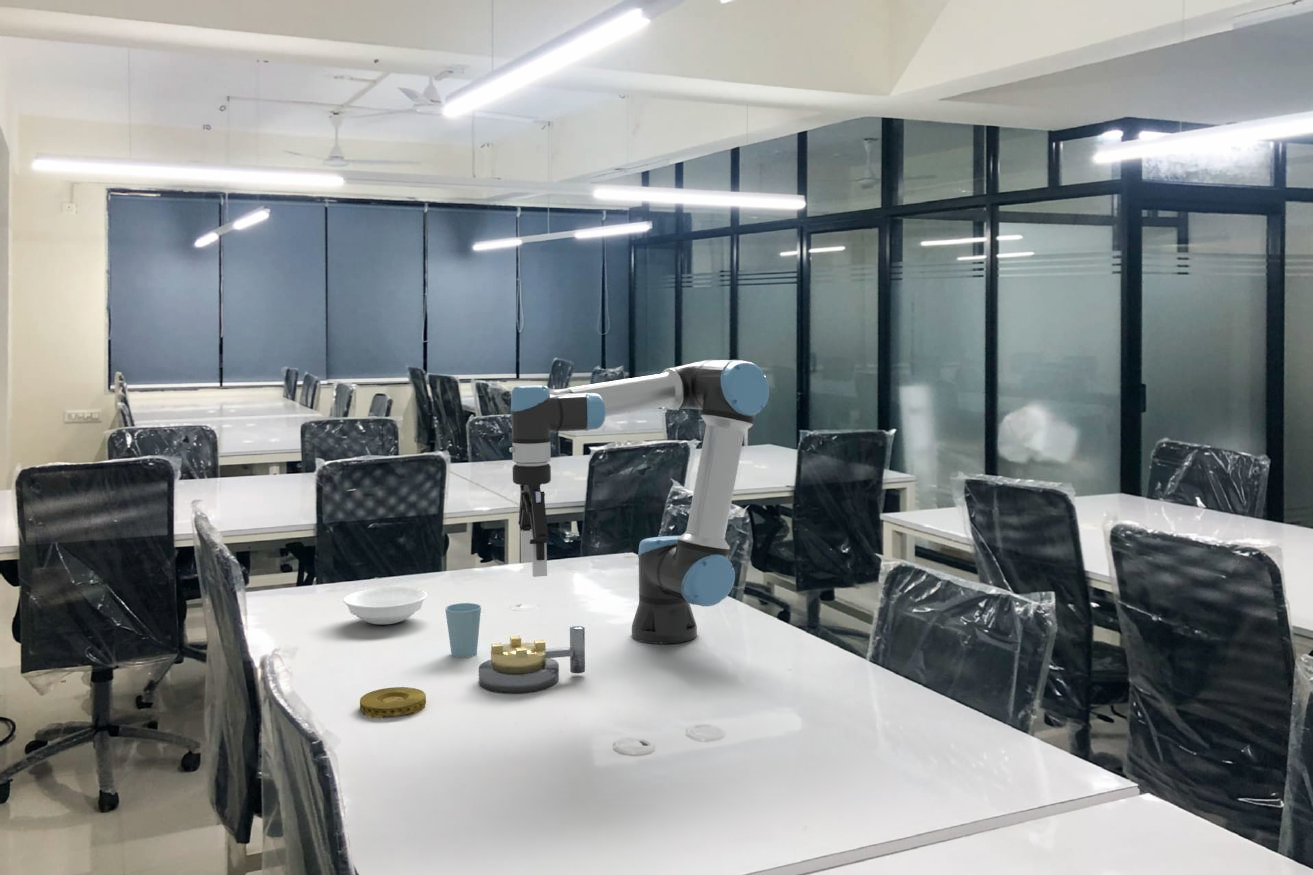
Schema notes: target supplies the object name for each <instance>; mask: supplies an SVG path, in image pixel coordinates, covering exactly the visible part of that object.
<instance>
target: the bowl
mask: <svg viewBox="0 0 1313 875" xmlns="http://www.w3.org/2000/svg"><path fill="white" fill-rule="evenodd" d="M427 597H428V594H427V592H426V591H424V590H422V589H418V588H412V587H394V586H393V587H378V588H369V589H364V590H360V591H356V592H352V593H350V594H348V595H346V596H345V597H343V601H342V602H343V603H344V604H345V605H346V606H347V608H348V610H349V613H350V614H352V615H353V616H356V618H358V619H360V620H362V621H364V622H366V623H368V624H372V625H391V624H393V625H394V624H397V623H400V622H403V621H405V620H407V619H409V618H410V617H411V616H413V615H414V614H415V613H416V612H418V611H419V610H421V608H422V605H423V603H424V601H425V600H426V599H427Z"/></svg>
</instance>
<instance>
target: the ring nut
mask: <svg viewBox="0 0 1313 875" xmlns="http://www.w3.org/2000/svg"><path fill="white" fill-rule="evenodd" d="M585 629H586V628H585V627H584V626H582V625H574V626H570V627H569V646H565V647H552V648H551V647H550V648H546V641H545V639H538V640H537V639H534V640H533V642H522V638H521V636H520V635H513V636H509V643H505V644H502V642H500V643H499V642H498V643H497V642H496V643H491V644H490V645H491V648H490V660H491V667H492V669H493V670H495V671H498V672H502V673H528V672H533V671H537V670H540V669H542V668H544V667H545V666H546V658H551V659H555V658H566V657H569V666H570V669H569V670H570V673H571V674H583V673H584V672H586V649H585V648H586V647H585V646H586V642H585V641H586V640H585V639H586V638H585V633H586V632H585Z"/></svg>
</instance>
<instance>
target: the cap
mask: <svg viewBox="0 0 1313 875" xmlns="http://www.w3.org/2000/svg"><path fill="white" fill-rule="evenodd" d="M559 667H560V665H559V663H558V661H557V660H555V658H546V666H545V667H544V668H542V669H540V670H537V671H533V672H528V673H502V672H498V671H495V670H493V669H492V667H491V659H488V660H486V661H484V662H482V663H481V664H479V666H478V684H479V687H480V688H481V689H483V690H485V691H488V692H491V693H494V694H495V693H496V694H502V695H504V694H505V695H523V694H524V695H525V694H532V693H538V692H542V691H545V690H549V689H550V688H551V689H552V688H553V687H555V686H556V685H558V684H559V681H560V668H559Z"/></svg>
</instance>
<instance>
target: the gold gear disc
mask: <svg viewBox="0 0 1313 875" xmlns="http://www.w3.org/2000/svg"><path fill="white" fill-rule="evenodd" d="M426 703H427V694H426V692H424V691H423V690H422V689H419V688H414V687H406V686H401V687H399V686H397V687H396V686H395V687H386V688H380V689H375V690H373V691H369V692H368V693H365V694H363V695H362V696H361V697H360V698H359V709H360V711H361V712H363V713H365V717H368V718H373V719H383V718H384V717H394V716H401V715H406V714H413V715H415V714H417V713H420V712H422V711H423V710H424V709H426Z"/></svg>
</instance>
